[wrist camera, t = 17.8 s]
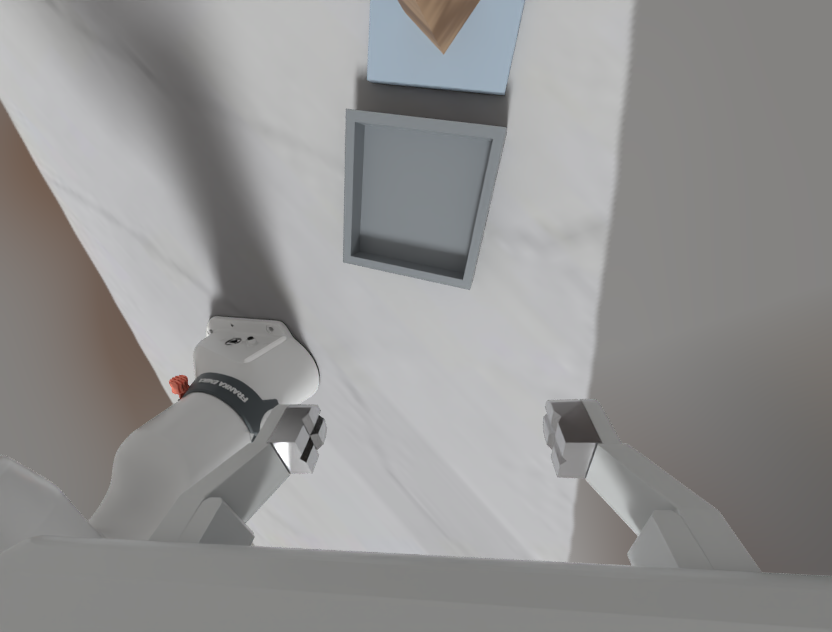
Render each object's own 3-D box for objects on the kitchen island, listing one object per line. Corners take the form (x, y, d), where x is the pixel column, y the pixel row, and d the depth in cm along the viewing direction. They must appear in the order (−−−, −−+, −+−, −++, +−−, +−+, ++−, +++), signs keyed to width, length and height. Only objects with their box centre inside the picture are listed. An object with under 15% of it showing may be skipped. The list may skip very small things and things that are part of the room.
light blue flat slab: (370, 82, 31) (366, 79, 31) (379, -88, 26) (374, -97, 25) (504, 95, 29) (504, 92, 28) (544, -90, 24) (545, -100, 23)
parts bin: (355, 255, 40) (343, 262, 37) (360, 115, 33) (346, 108, 30) (472, 280, 37) (469, 289, 34) (506, 132, 30) (506, 127, 27)
